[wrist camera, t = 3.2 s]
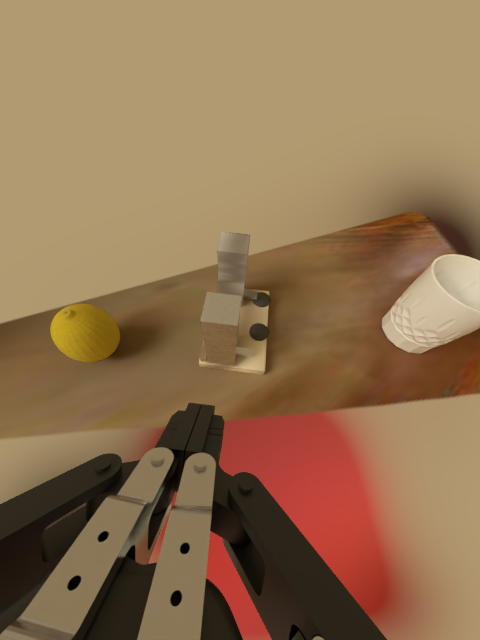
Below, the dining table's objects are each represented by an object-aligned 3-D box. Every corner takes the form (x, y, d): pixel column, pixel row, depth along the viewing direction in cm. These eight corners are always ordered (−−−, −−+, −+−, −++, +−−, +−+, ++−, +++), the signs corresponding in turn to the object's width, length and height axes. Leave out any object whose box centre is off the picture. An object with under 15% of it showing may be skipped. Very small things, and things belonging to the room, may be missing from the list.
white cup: (403, 366, 28) (479, 325, 20) (364, 315, 32) (415, 262, 23) (450, 347, 30) (539, 302, 21) (408, 301, 34) (469, 247, 25)
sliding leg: (207, 362, 26) (200, 321, 18) (212, 339, 27) (207, 291, 20) (250, 368, 26) (260, 328, 18) (252, 344, 27) (262, 298, 20)
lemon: (126, 324, 29) (96, 282, 22) (133, 362, 27) (101, 328, 20) (79, 337, 28) (31, 298, 21) (81, 379, 25) (28, 349, 18)
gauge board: (199, 366, 27) (187, 321, 18) (216, 290, 33) (212, 229, 24) (265, 374, 27) (284, 333, 18) (269, 296, 33) (285, 237, 24)
